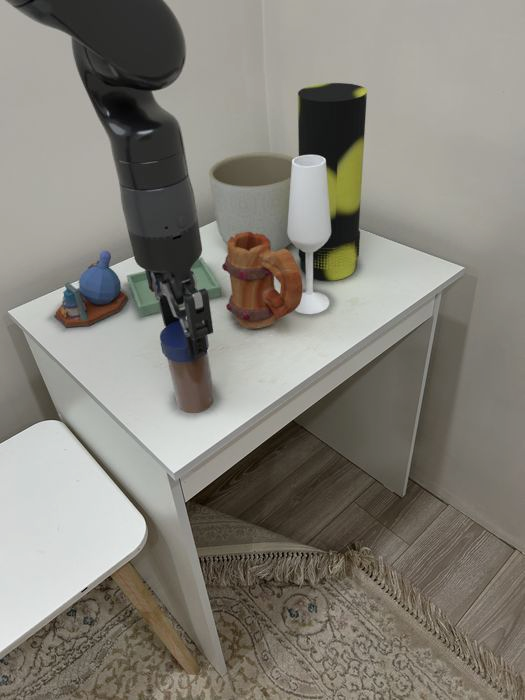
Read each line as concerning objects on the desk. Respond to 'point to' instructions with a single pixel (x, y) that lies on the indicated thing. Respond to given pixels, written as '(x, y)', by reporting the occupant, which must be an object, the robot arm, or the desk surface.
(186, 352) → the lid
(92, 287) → the model
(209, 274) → the tray
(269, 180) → the planter
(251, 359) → the desk surface
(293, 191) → the champagne flute
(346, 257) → the container
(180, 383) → the jar
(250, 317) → the mug
